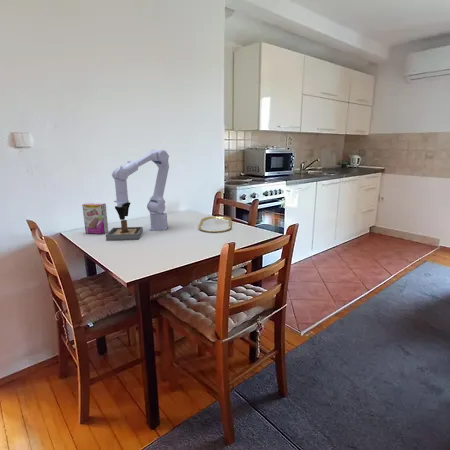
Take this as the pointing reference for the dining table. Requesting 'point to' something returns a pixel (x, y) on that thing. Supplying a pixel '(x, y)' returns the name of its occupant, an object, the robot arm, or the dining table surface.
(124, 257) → the dining table surface
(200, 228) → the gold wire ring
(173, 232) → the dining table surface
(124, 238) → the charcoal tray
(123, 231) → the walnut peg
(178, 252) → the dining table surface
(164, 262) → the dining table surface
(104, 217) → the candy bar box
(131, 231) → the oak hole plate
